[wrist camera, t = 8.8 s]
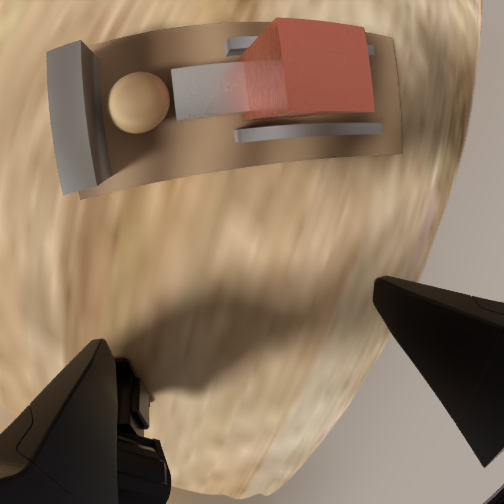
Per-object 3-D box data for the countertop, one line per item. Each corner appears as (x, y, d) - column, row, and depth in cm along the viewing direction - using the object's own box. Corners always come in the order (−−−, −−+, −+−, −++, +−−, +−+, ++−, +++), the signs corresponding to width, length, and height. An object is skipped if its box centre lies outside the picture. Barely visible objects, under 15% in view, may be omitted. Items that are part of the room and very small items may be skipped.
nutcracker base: (85, 196, 18) (59, 215, 13) (67, 58, 14) (38, 39, 9) (393, 152, 23) (437, 160, 18) (383, 40, 19) (425, 28, 14)
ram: (177, 130, 17) (179, 124, 10) (170, 68, 15) (168, 23, 8) (302, 116, 18) (374, 112, 11) (295, 60, 17) (364, 27, 10)
